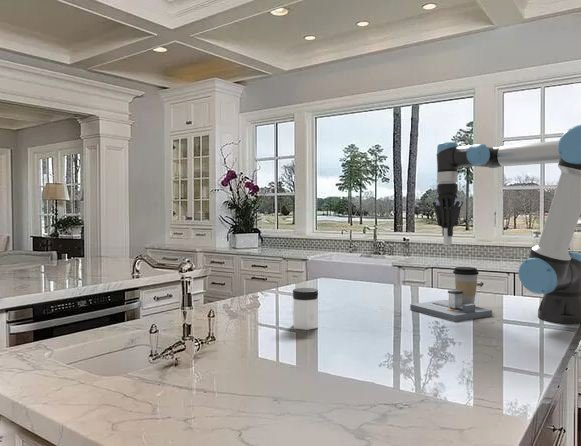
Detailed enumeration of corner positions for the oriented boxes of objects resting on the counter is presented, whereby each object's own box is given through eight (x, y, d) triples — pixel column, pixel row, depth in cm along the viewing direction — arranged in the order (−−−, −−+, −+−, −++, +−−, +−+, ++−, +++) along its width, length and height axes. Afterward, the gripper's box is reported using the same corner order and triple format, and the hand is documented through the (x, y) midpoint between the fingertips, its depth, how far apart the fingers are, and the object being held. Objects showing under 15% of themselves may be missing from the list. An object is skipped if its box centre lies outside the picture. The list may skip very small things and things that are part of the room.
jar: (301, 331, 153) (301, 293, 152) (287, 326, 160) (286, 289, 159) (324, 327, 158) (324, 290, 157) (309, 322, 165) (309, 286, 164)
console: (491, 315, 173) (492, 302, 173) (455, 321, 165) (455, 307, 165) (445, 304, 193) (445, 293, 193) (410, 309, 184) (410, 297, 184)
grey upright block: (463, 307, 176) (463, 290, 176) (454, 308, 174) (455, 291, 174) (455, 305, 179) (455, 289, 179) (447, 306, 177) (447, 290, 177)
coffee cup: (482, 309, 184) (482, 269, 183) (457, 309, 184) (457, 269, 184) (473, 304, 193) (473, 266, 193) (449, 304, 193) (449, 266, 193)
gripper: (467, 182, 184) (468, 245, 184) (441, 184, 195) (441, 243, 196) (454, 182, 180) (454, 246, 181) (427, 184, 191) (427, 244, 192)
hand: (447, 244), depth 188 cm, fingers closed
